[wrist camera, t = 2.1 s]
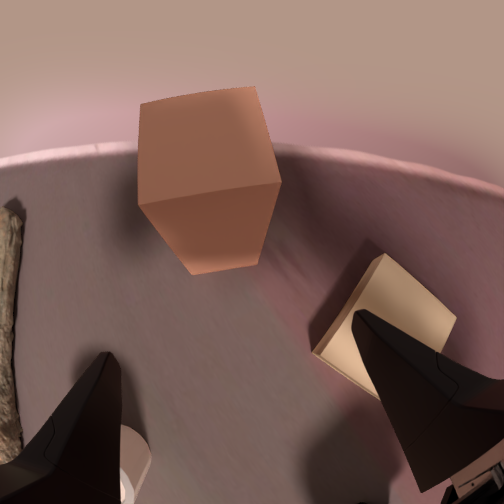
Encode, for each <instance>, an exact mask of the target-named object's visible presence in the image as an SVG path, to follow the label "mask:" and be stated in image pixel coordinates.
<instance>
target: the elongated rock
mask: <svg viewBox="0 0 504 504" xmlns="http://www.w3.org/2000/svg"><path fill="white" fill-rule="evenodd" d="M22 224H23V223H22V221H21V220H20V218H19V217H18V215H16V214H15V213H14V212H13V211H11V210H9V209H8V208H5V207H4V206H2V207H1V208H0V464H5V463H8V462H10V461H12V460H13V459H14V458H16V457H17V456H18V454H19V453H20V452H21V451H22V449H21V441H20V437H21V435H20V432H23V429H22V427H21V425H20V423H19V420H18V417H19V414H18V412H17V410H16V406H15V392H14V382H13V380H14V379H13V375H12V369H11V364H10V363H11V356H12V353H11V352H12V342H11V341H12V340H13V333H12V325H13V305H14V296H15V287H16V280H17V273H18V267H19V258H20V246H21V244H22V240H21V225H22Z"/></svg>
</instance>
